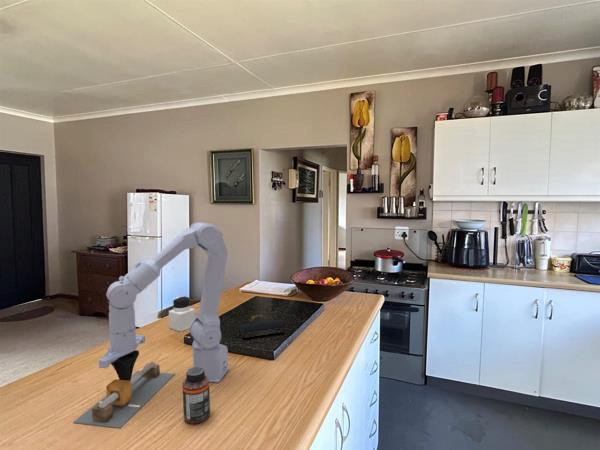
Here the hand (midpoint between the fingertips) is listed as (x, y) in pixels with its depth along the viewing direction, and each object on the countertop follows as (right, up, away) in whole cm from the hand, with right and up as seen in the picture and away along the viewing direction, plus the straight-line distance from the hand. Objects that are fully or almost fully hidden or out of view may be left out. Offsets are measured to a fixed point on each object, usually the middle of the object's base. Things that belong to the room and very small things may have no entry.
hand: (125, 381), depth 85 cm
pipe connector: (+29, -2, +43) cm, 52 cm away
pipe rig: (0, -5, +2) cm, 5 cm away
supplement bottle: (+20, -5, -6) cm, 22 cm away
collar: (0, -5, -2) cm, 5 cm away
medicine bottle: (-2, -1, +48) cm, 48 cm away
